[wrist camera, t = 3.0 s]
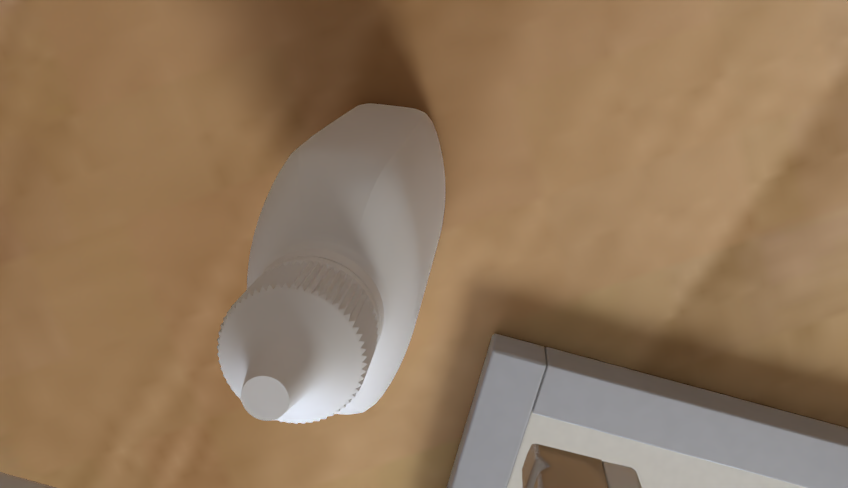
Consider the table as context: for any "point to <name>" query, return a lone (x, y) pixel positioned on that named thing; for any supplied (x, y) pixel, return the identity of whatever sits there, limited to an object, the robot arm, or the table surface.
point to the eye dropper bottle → (337, 268)
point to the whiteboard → (635, 427)
